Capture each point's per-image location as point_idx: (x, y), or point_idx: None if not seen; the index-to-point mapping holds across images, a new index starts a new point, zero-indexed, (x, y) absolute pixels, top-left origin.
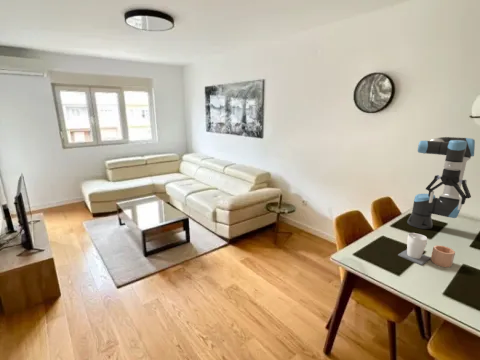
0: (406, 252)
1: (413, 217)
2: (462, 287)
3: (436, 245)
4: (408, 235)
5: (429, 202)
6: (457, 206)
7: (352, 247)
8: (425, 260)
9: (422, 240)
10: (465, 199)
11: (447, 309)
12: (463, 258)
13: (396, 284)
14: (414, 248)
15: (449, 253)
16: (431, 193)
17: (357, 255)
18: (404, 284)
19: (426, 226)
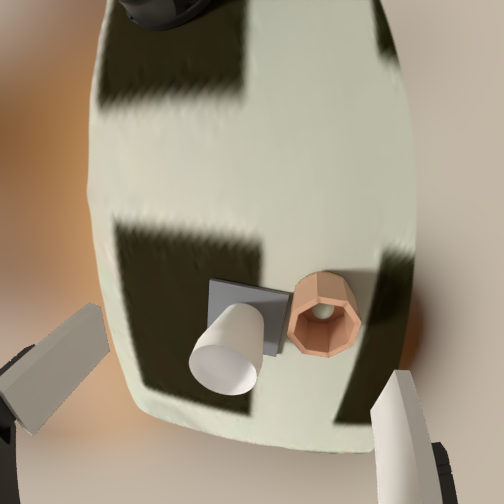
0: (218, 313)
1: (131, 10)
2: (372, 384)
3: (294, 311)
4: (194, 374)
5: (102, 351)
6: None
7: (122, 358)
8: (279, 329)
9: (247, 390)
10: (452, 500)
11: (340, 446)
12: (383, 200)
13: (257, 436)
14: (237, 366)
15: (342, 347)
16: (38, 421)
17: (152, 386)
18: (268, 431)
19: (197, 5)
